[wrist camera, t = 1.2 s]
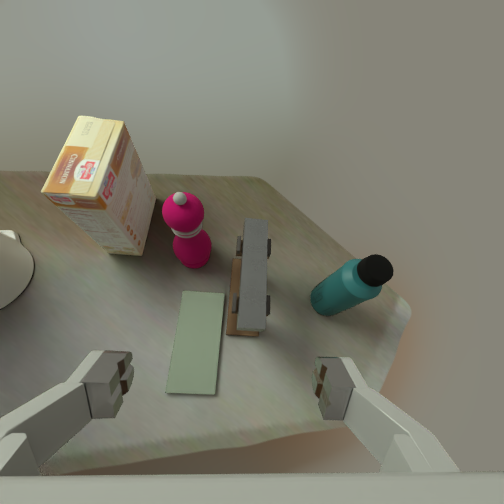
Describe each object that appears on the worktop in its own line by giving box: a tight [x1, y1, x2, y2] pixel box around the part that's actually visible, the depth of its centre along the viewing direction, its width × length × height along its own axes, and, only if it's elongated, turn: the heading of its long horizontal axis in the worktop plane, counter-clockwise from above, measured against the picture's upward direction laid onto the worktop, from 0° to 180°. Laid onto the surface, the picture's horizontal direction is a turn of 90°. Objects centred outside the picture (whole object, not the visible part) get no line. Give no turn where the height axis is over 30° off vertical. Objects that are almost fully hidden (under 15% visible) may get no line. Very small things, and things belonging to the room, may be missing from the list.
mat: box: [165, 291, 225, 394], centre depth 42 cm, size 8×17×1 cm, turn 177°
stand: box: [226, 236, 271, 336], centre depth 40 cm, size 6×15×14 cm, turn 177°
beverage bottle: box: [310, 254, 393, 316], centre depth 39 cm, size 6×7×20 cm
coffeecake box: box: [41, 116, 156, 256], centre depth 42 cm, size 15×7×20 cm, turn 178°
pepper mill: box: [162, 192, 211, 268], centre depth 40 cm, size 7×7×20 cm
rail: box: [236, 218, 268, 332], centre depth 34 cm, size 4×16×3 cm, turn 177°
